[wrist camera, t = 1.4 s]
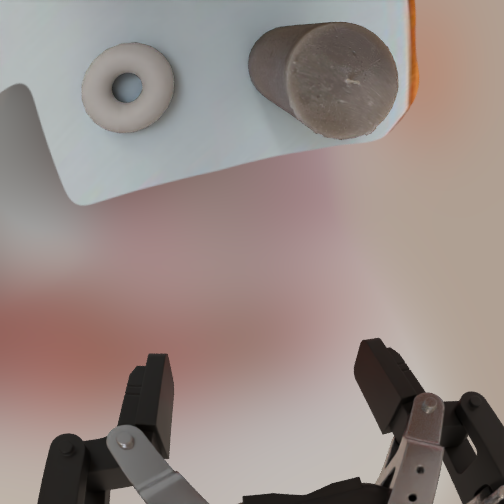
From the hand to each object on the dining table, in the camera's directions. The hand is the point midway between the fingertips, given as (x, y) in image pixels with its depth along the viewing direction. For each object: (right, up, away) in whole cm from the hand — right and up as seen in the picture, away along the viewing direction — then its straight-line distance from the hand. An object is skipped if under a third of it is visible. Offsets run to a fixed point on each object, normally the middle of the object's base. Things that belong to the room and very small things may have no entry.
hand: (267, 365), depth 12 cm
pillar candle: (+4, +25, +18) cm, 31 cm away
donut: (-14, +22, +16) cm, 31 cm away
